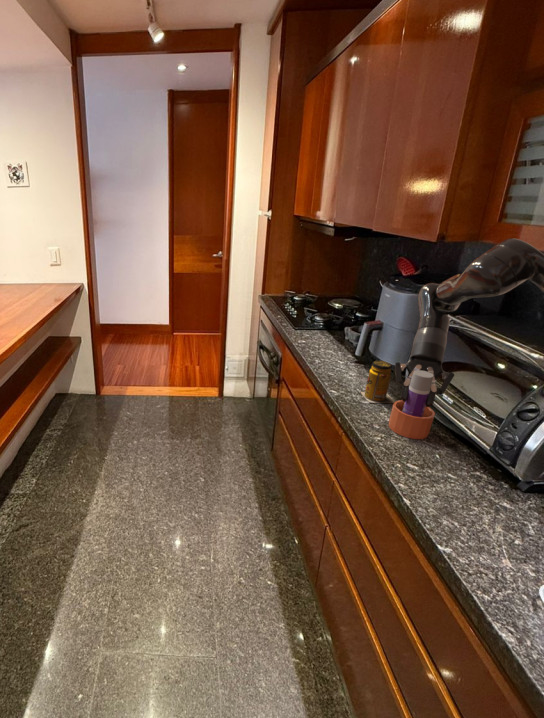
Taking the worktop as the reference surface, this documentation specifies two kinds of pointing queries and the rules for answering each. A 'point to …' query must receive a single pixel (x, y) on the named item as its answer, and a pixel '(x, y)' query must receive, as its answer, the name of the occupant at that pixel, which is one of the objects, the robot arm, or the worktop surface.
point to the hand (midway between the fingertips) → (416, 403)
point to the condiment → (378, 383)
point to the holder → (410, 422)
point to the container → (418, 393)
